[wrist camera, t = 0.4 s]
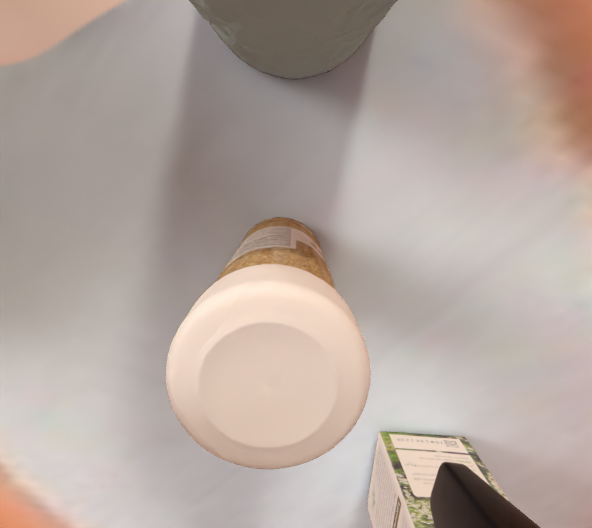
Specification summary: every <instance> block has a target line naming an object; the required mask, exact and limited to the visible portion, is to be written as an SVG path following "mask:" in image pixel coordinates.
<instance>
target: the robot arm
mask: <svg viewBox="0 0 592 528" xmlns="http://www.w3.org/2000/svg"><path fill="white" fill-rule="evenodd" d="M430 508H431V513H432V517H433V522H434V526H435V528H540V527H539V526H538V525H537V524H535V523H534V522H533V521H532V520H531V519H529V518H528V517H527V516H526V515H525V514H523V513H522V512H521V511H520V510H519V509H517V508H516V507H515V506H514V505H513V504H511V503H510V502H509V501H508V500H507V499H505V498H504V497H503V496H502V495H501V494H499V493H498V492H497V491H496V490H495V489H493V488H492V487H491V486H490V485H489V484H487V483H486V482H485V481H484V480H483V479H481V478H480V477H479V476H478V475H477V474H475V473H474V472H473V471H472V470H471V469H469V468H468V467H467V466H466V465H464V464H460V463H452V462H443V463H442V464H441V465H440V467H439V469H438V473H437V476H436V479H435V482H434V486H433V489H432V492H431V496H430Z"/></svg>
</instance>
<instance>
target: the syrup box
mask: <svg viewBox="0 0 592 528" xmlns="http://www.w3.org/2000/svg"><path fill="white" fill-rule="evenodd" d="M443 462H452V463H460V464H464V465H466V466H467V467H468V468H469V469H471V470H472V471H473V472H474V473H475V474H477V475H478V476H479V477H480V478H481V479H483V480H484V481H485V482H486V483H487V484H489V485H490V486H491V487H492V488H493V489H495V490H496V491H497V492H498V493H499V494H501V495H502V496H503V497H504V498H505V499H507V500H508V498H507V497H506V495H505V494H504V493H503V491H502V490H501V488H500V487H499V485H498V484H497V482H496V481H495V480H494V478H493V477H492V475H491V474H490V473H489V471H488V470H487V468H486V467H485V465H484V464H483V462H482V461H481V460H480V458H479V457H478V455H477V453H476V452H475V451H474V449H473V448H472V446H471V445H470V444H469V442H468V441H467V439H466V438H465V437H455V436H441V435H425V434H410V433H397V432H379V435H378V440H377V447H376V452H375V458H374V465H373V471H372V477H371V484H370V490H369V496H368V502H367V506H368V511H369V515H370V518H371V522H372V526H373V528H435V526H434V522H433V517H432V513H431V508H430V496H431V492H432V489H433V486H434V482H435V479H436V476H437V473H438V469H439V467H440V465H441V464H442V463H443ZM508 501H509V500H508ZM509 502H510V501H509Z"/></svg>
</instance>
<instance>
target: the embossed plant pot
mask: <svg viewBox="0 0 592 528" xmlns="http://www.w3.org/2000/svg"><path fill="white" fill-rule="evenodd" d="M189 1H190V2H191V3H192V4H193V5H194V6H195V8H196V9H197V10H198V12H199V13H200V14H201V15H202V17H203V18H205V19H206V20H208V21H209V22H210V24H211V26H212V27H213V29H214V30H215V31H216V33H217V34H218V35H219V37H220V38H221V39H222V40H223V41H224V43H225V44H226V45H227V46H228V47H229V48H230V49H231V50H232V51H233V53H235V54H236V55H237V56H238V57H239V58H240V59H241V60H243V61H244V62H246V63H247V64H248V65H250V66H252V67H254V68H256V69H258V70H259V71H261V72H264V73H268V74H271V75H275V76H278V77H282V78H290V79H299V78H306V77H311V76H315V75H319V74H322V73H324V72H329V71H330V70H331V69H333V68H335V67H336V66H338V65H340V64H341V63H343V62H344V61H346V60H347V59H348V58H349V57H350V56H351V55H352V54H353V53H354V52H355V51H356V50H357V49H358V48H359V47H360V45H361V44H362V43H363V42H364V41H365V40H366V38H367V37H368V35H369V34H370V33H371V32H372V30H373V29H374V28H375V26H376V25H377V24H378V23H379V22H380V21H381V20H382V19H383V18H384V17H385V15H386V13H387V12H388V11H389V9H390V7H392V5H393V4H394V3H395V2H396V1H397V0H189Z"/></svg>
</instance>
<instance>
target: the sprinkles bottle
mask: <svg viewBox="0 0 592 528" xmlns="http://www.w3.org/2000/svg"><path fill="white" fill-rule="evenodd" d="M166 385H167V391H168V395H169V399H170V402H171V405H172V408H173V410H174V412H175V414H176V416H177V418H178V420H179V421H180V423H181V424H182V426H183V427H184V429H185V430H186V431H187V432H188V434H189V435H190V436H191V437H192V438H193V439H194V440H195V441H196V442H197V443H198V444H199V445H201V446H202V447H203V448H205V449H206V450H207V451H209V452H210V453H212V454H214V455H215V456H217V457H219V458H221V459H223V460H226V461H228V462H231V463H234V464H237V465H241V466H245V467H249V468H257V469H279V468H287V467H292V466H296V465H300V464H303V463H306V462H309V461H311V460H313V459H315V458H317V457H319V456H321V455H323V454H324V453H326V452H328V451H329V450H331V449H332V448H334V447H335V446H336V445H337V444H338V443H339V442H340V441H342V440H343V439H344V437H345V436H346V435H347V434H348V433H349V432H350V431H351V429H352V428H353V427H354V425H355V424H356V422H357V420H358V419H359V417H360V415H361V413H362V411H363V408H364V406H365V403H366V400H367V396H368V391H369V386H370V363H369V356H368V352H367V348H366V345H365V342H364V339H363V337H362V334H361V332H360V329H359V327H358V325H357V323H356V321H355V319H354V317H353V314H352V312H351V310H350V309H349V307H348V305H347V304H346V302H345V301H344V300H343V298H342V297H341V296H340V295H339V293H338V292H337V291H336V290H335V287H334V283H333V279H332V277H331V274H330V271H329V269H328V267H327V264H326V262H325V259H324V257H323V254H322V252H321V249H320V246H319V243H318V241H317V239H316V237H315V236H314V234H313V233H312V232H311V230H310V229H308V228H307V227H306V226H304V225H303V224H302V223H300V222H297V221H295V220H292V219H288V218H280V217H275V218H272V219H268V220H264V221H262V222H260V223H258V224H257V225H255V226H254V227H253V228H252V229H251V230H250V231H249V232H248V233H247V235H246V237H245V238H244V240H243V242H242V244H241V245H240V246H239V248H238V249H237V251H236V252H235V254H234V255H233V257H232V258H231V260H230V261H229V263H228V264H227V265H226V267H225V268H224V270H223V271H222V273H221V274H220V276H219V278H218V280H217V282H215V283H214V284H213V285H212V286H211V287H209V288H208V289H207V290H206V291H205V292H204V293H203V294H202V295H201V296H200V298H199V299H198V300H197V302H196V303H195V304H194V306H193V307H192V309H191V310H190V312H189V313H188V315H187V316H186V318H185V319H184V321H183V322H182V324H181V326H180V328H179V329H178V331H177V333H176V335H175V337H174V339H173V341H172V344H171V347H170V351H169V354H168V358H167V368H166Z"/></svg>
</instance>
